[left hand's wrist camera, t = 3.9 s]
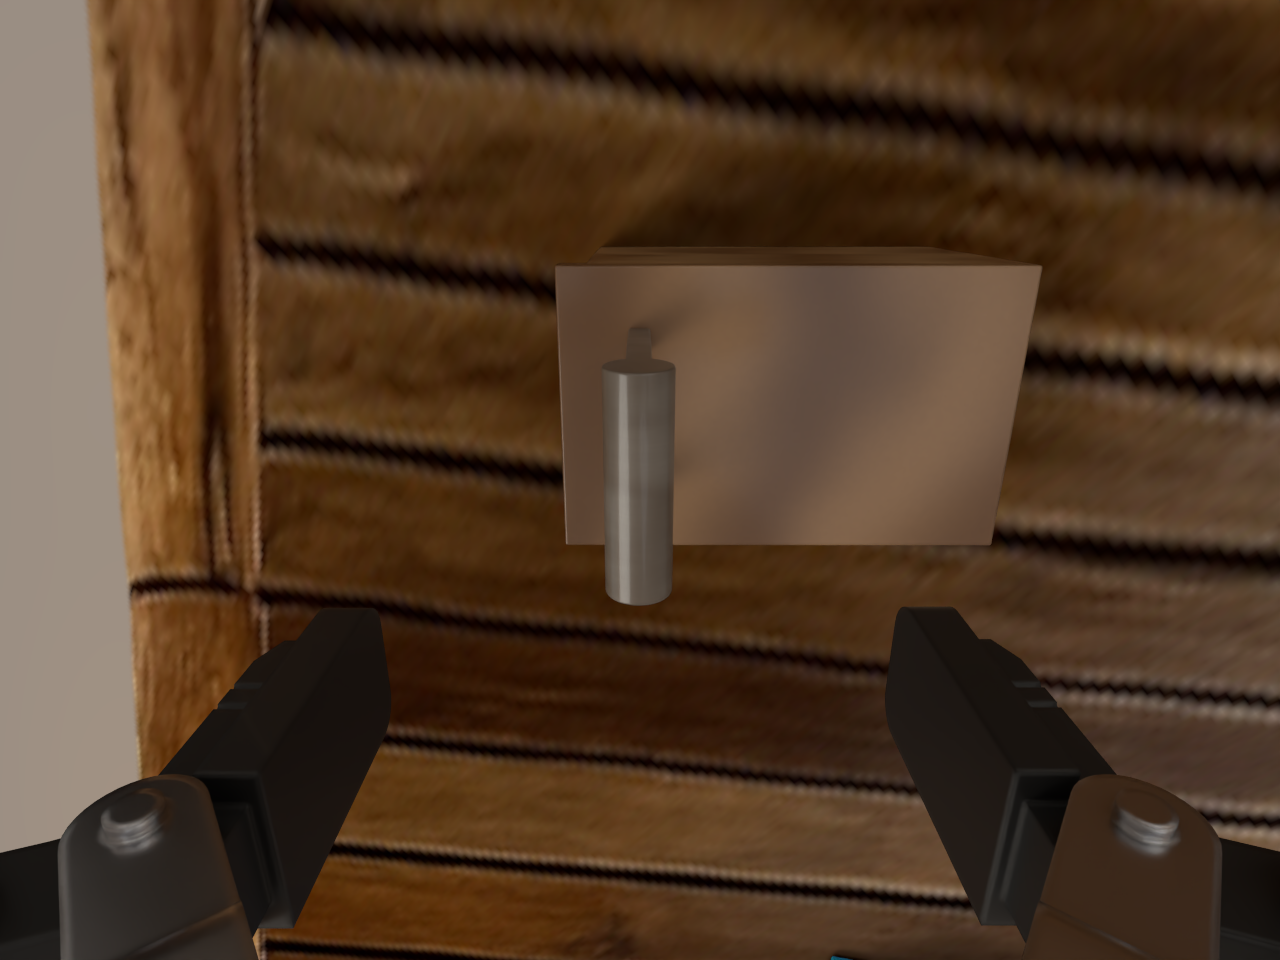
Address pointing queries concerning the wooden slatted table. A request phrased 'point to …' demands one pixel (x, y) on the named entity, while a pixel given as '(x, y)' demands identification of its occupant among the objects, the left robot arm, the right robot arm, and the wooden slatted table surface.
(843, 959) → the model building
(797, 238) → the wooden slatted table surface
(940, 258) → the chest
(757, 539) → the lid
